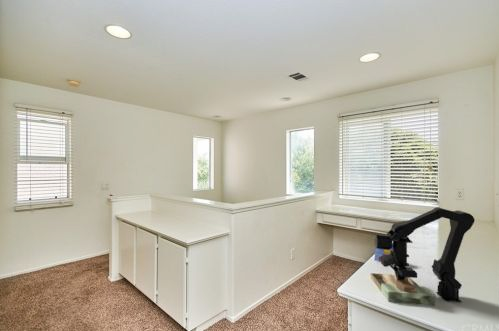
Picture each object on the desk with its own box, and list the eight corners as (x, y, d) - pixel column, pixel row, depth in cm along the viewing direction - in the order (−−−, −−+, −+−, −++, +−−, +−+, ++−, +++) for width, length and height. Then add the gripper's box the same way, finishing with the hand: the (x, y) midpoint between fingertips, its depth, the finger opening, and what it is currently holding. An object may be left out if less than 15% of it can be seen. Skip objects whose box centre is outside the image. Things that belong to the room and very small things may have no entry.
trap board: (408, 280, 120) (408, 271, 120) (434, 305, 98) (434, 295, 98) (370, 277, 123) (370, 269, 123) (388, 301, 101) (388, 291, 101)
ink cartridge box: (374, 260, 146) (374, 237, 146) (377, 258, 149) (377, 235, 149) (391, 265, 138) (391, 241, 138) (395, 263, 142) (395, 239, 142)
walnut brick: (407, 288, 107) (407, 280, 107) (415, 297, 100) (415, 288, 100) (396, 288, 108) (396, 279, 108) (403, 296, 101) (403, 287, 101)
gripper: (373, 243, 120) (373, 273, 120) (390, 257, 102) (390, 292, 102) (397, 244, 119) (397, 275, 119) (418, 258, 100) (417, 295, 100)
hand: (399, 283), depth 110 cm, fingers closed
